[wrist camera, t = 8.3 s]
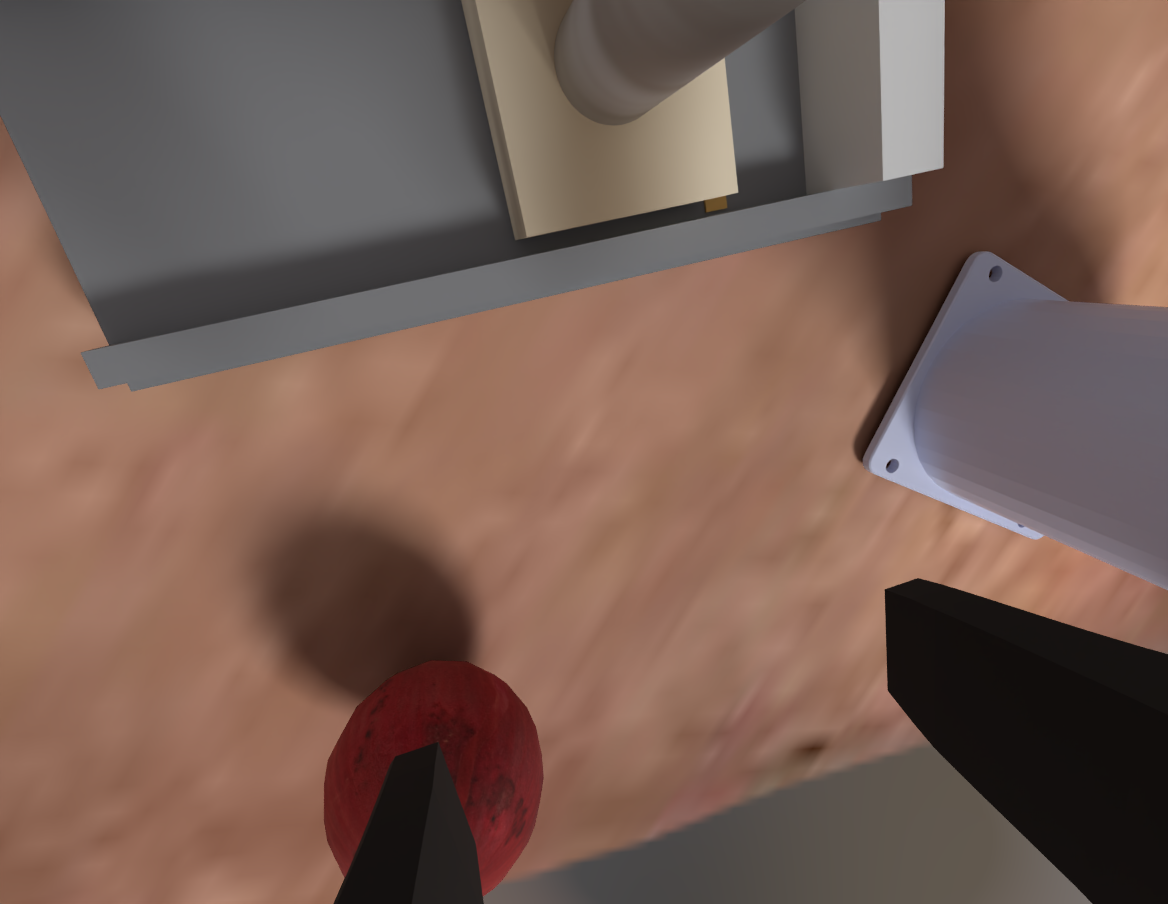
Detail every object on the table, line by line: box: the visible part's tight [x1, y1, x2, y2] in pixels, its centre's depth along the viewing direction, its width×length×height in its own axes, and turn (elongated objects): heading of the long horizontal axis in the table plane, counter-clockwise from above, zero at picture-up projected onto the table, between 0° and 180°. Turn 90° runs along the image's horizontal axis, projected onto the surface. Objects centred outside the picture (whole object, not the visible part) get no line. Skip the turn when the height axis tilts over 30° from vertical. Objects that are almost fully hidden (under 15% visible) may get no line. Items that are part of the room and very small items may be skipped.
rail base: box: [0, 0, 945, 392], centre depth 13 cm, size 20×9×4 cm, turn 102°
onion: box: [324, 660, 544, 896], centre depth 16 cm, size 6×6×8 cm
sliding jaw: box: [461, 0, 806, 240], centre depth 10 cm, size 5×6×8 cm
